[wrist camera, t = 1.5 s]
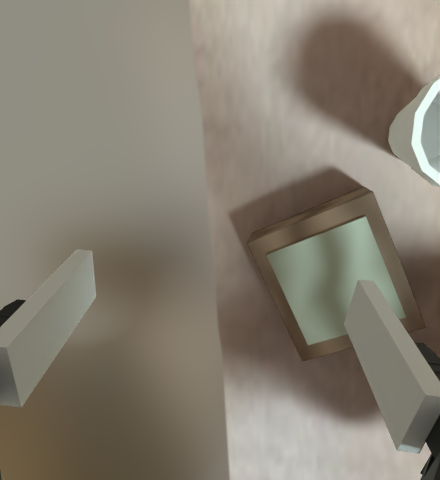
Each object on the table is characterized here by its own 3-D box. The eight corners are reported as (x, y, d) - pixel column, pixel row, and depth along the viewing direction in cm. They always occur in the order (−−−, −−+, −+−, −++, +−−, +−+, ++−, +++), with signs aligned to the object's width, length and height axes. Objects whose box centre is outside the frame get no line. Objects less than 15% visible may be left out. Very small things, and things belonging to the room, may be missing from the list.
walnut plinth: (364, 186, 38) (373, 192, 33) (411, 307, 40) (427, 329, 36) (252, 233, 42) (246, 244, 37) (301, 340, 45) (302, 362, 40)
